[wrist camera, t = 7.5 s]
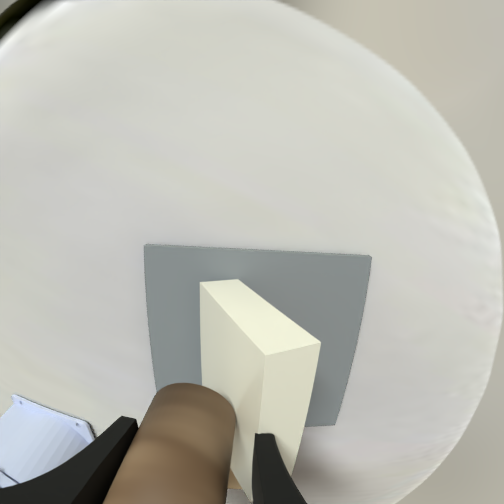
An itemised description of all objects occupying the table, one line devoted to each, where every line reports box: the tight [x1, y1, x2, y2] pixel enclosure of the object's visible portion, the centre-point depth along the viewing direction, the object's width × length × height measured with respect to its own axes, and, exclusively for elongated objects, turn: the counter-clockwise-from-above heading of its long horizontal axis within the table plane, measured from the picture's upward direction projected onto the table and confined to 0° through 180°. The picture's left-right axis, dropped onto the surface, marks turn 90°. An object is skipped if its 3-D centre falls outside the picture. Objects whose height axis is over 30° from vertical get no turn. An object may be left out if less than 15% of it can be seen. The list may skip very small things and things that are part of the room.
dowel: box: [103, 383, 236, 504], centre depth 7 cm, size 4×4×7 cm
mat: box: [144, 244, 372, 427], centre depth 16 cm, size 12×12×1 cm
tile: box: [200, 279, 321, 502], centre depth 13 cm, size 2×9×7 cm, turn 178°
